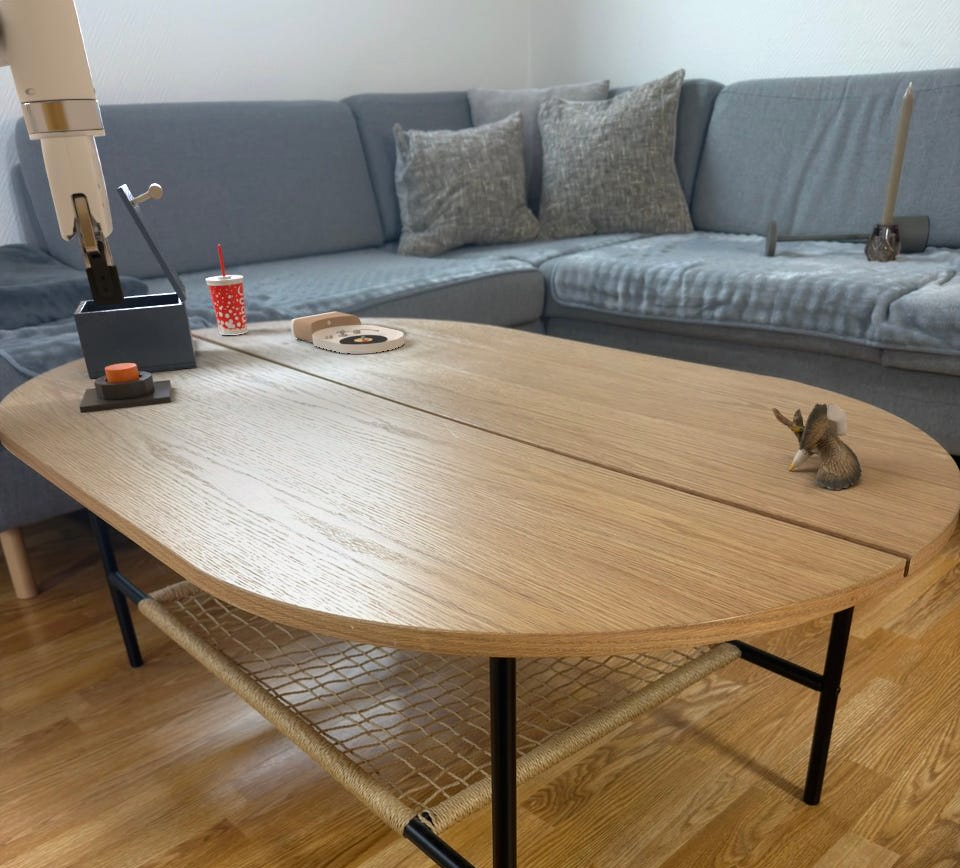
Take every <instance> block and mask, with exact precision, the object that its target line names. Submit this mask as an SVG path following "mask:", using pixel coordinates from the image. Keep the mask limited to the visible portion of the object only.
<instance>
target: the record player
mask: <svg viewBox="0 0 960 868" xmlns="http://www.w3.org/2000/svg"><path fill="white" fill-rule="evenodd" d="M290 332H291V336H292V337H293V338H294V337H295V338H294V339H296V338H299V339H298V340H300V339H303V340H302V341H304V340H307V341H311V342H313V343H312V344H313V346H314V347H316V346H317V347H316V348H319V347H320V349H323V348H324V349H323V350H326V349H327V351H330V350H332V351H331V352H334V351H336V352H335V353H339V352H340V354H347V353H350V354H349V355H359V354H360V355H362V354H377V353H383V352H382V351H384V352H388V351H387V350H389V351H392V349H393V350H396V349H399V348H401V347H403V346H404V345H405V333H404V332H403V331H401V330H397V329H393V328H390V327H389V328H388V327H384V326H380V325H379V326H378V325H374V324H373V325H372V324H362V322H361V319H360V317H358V316H357V315H355V314H350V313H346V312H340V311H336V310H335V311H328V312H322V313H318V314H312V315H307V316H301V317H296V318H293V319H291V320H290ZM307 341H306V342H307ZM311 342H310V343H311ZM403 344H404V345H403ZM402 345H403V346H402ZM398 347H399V348H398ZM395 348H396V349H395ZM376 352H377V353H376Z"/></svg>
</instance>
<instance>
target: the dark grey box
mask: <svg viewBox="0 0 960 868" xmlns="http://www.w3.org/2000/svg"><path fill="white" fill-rule="evenodd" d="M72 315H73V318H74V319H73V320H74V322H75V323H74V324H75V327H76V330H77V334H78V339H79V343H80V347H81V351H82V355H83V358H84V363H85V366H86V370H87V373H88V378H89V380H95V379H97V378H100V377H102V376H105V375H106V372H105V367H107V366H110V365H114V364H121V363H134V364H136V365H137V369H138V371H140V372H148V373H157V372H158V373H159V372H168V370H169V371H176V370H175V369H178V370H183V369H182V368H187V369H192V368H191V367H196V368H198V365H196V364H197V357H195V356H196V350H195V349H196V348H195V344H194V339H193V334H192V328H191V324H190V318H189V312H188V308H187V303H186V300H185V301H183V302H181V301H180V299H179V297H178V295H177V294H176V292H170V293H169V292H168V293H158V294H146V295H134V296H124V301H123V303H121V304H112V305H102V306H97V305H95V304H94V300H93V299H89V300H88V299H87V300H81V301H80V302H79V305H78V306H77V308H76V310H75V311H74V312H73V314H72Z"/></svg>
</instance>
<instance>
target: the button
mask: <svg viewBox="0 0 960 868" xmlns="http://www.w3.org/2000/svg"><path fill="white" fill-rule="evenodd" d="M105 372H106V376H107V380H108V382H125V381H131V380H135V379H138V378H139V374H138V369H137V365H136V364H134V363H121V364H114V365H110V366H107V367H105Z"/></svg>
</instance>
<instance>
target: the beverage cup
mask: <svg viewBox="0 0 960 868" xmlns="http://www.w3.org/2000/svg"><path fill="white" fill-rule="evenodd" d="M217 251H218V256H219V257H218V258H219V263H220V269H221V275H217V276H209V277H207V278H205V282H206V285H207V287H208V290H209V294H210V298H211V302H212V307H213V310H214V315H215V319H216V323H217V327H218V332H219V335H220V334H238V333H243V332H246V331H248V321H247V313H246V312H247V311H246V303H245V294H244V285H243V283H244V281H245V280H244V275H240V274H226V271H225V263H224V258H223V251H222V246H221V244H217Z"/></svg>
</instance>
